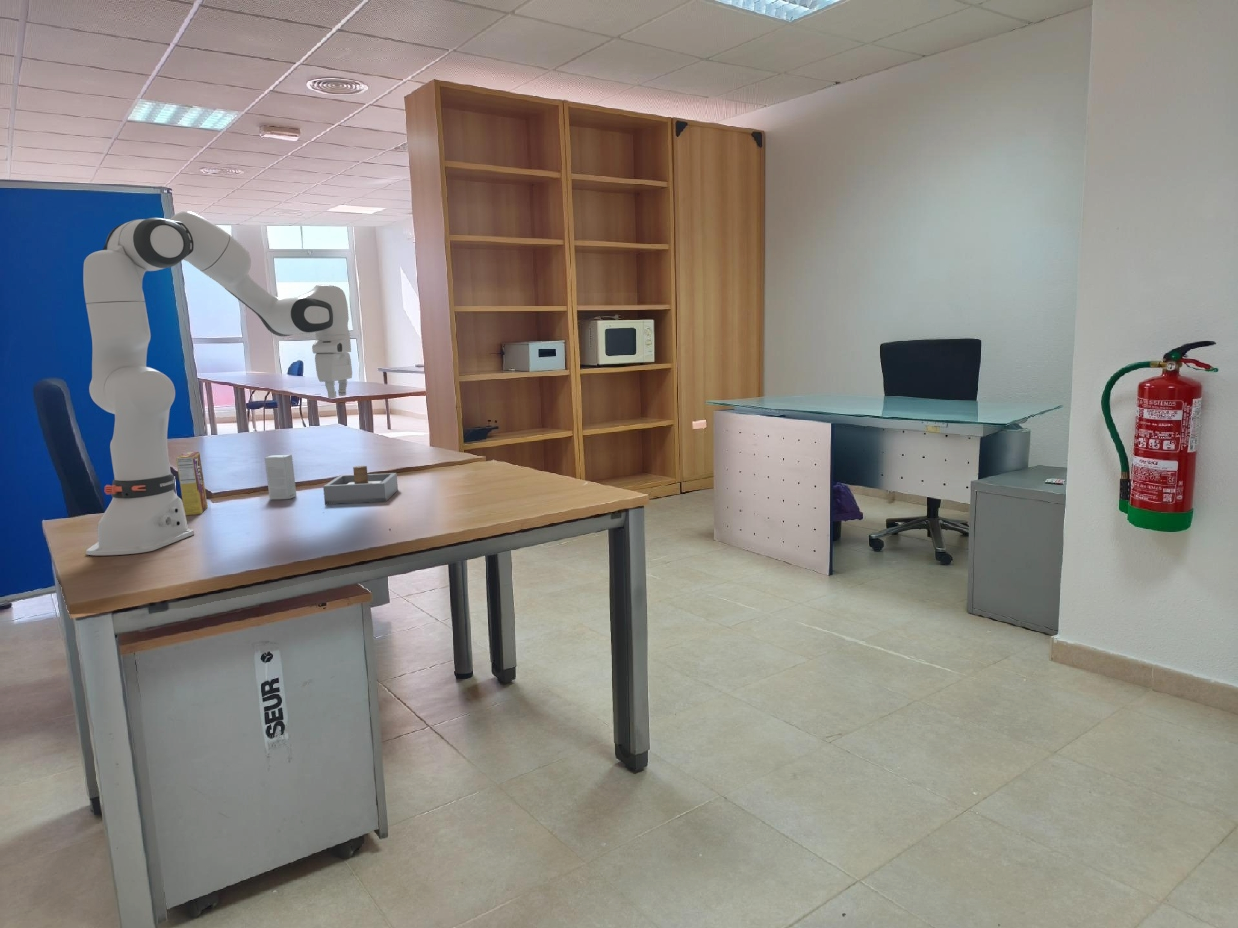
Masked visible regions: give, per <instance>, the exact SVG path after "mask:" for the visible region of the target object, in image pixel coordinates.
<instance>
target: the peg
mask: <svg viewBox="0 0 1238 928" xmlns="http://www.w3.org/2000/svg"><path fill="white" fill-rule="evenodd" d="M352 470H353V475H354V482H355V484H366V483H368V474H369V473H368V466H367V465H357V466H353V467H352Z"/></svg>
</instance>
